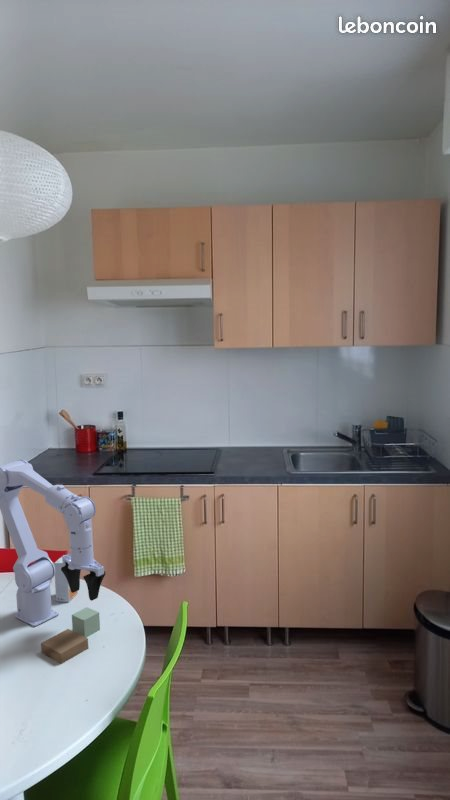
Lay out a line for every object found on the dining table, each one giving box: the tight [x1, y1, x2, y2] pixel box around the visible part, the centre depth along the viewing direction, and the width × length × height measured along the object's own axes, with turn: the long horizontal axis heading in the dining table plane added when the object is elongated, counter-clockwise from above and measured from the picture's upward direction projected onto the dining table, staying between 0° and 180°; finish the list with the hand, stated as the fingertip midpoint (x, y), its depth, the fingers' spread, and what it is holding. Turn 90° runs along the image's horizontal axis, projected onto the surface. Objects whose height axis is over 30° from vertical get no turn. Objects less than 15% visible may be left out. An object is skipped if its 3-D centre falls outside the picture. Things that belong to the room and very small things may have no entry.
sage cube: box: [71, 607, 101, 638], centre depth 149 cm, size 5×5×5 cm
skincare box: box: [53, 554, 79, 603], centre depth 167 cm, size 6×4×12 cm
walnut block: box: [40, 628, 89, 665], centre depth 140 cm, size 8×8×3 cm
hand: (84, 595), depth 148 cm, fingers open, 7 cm apart
